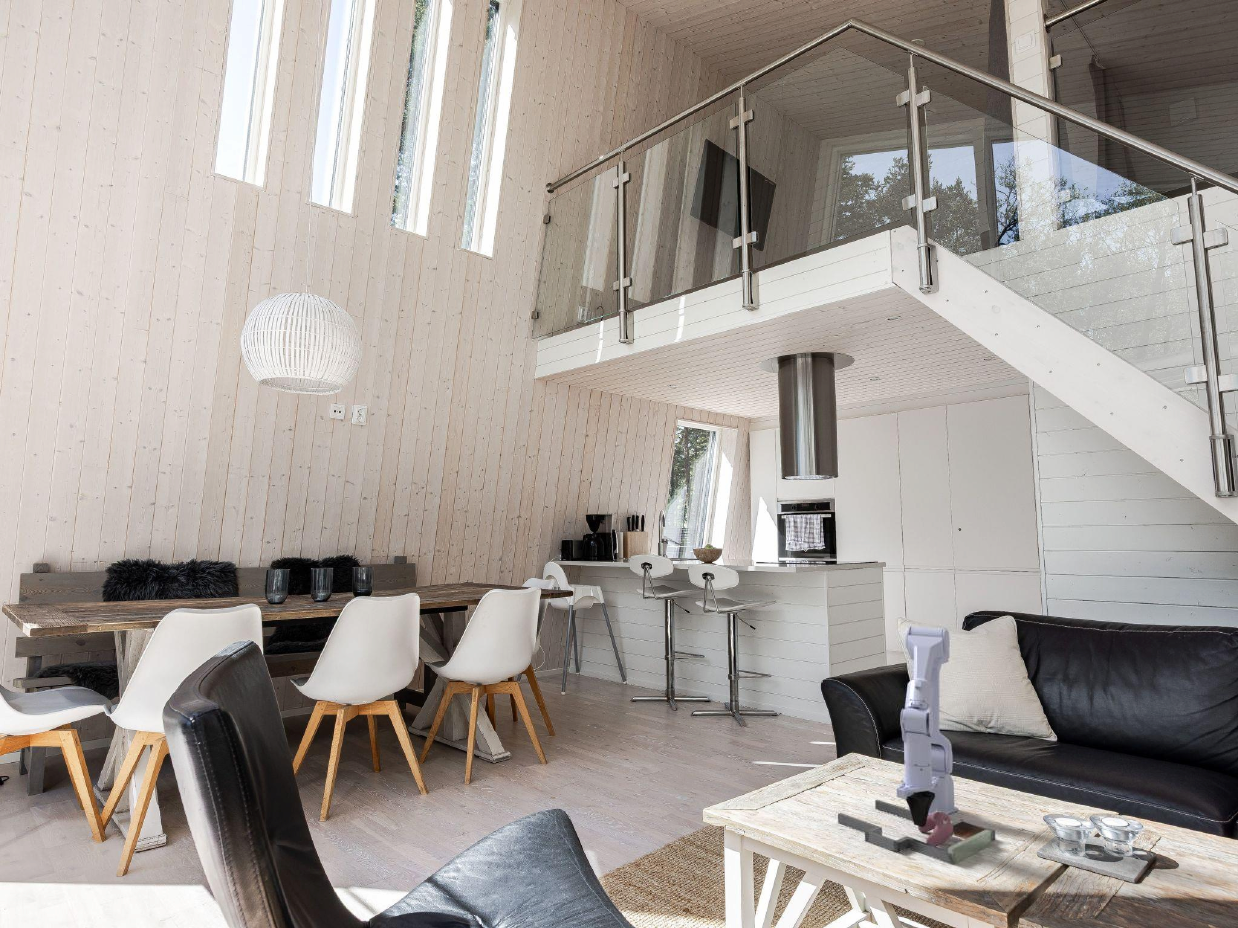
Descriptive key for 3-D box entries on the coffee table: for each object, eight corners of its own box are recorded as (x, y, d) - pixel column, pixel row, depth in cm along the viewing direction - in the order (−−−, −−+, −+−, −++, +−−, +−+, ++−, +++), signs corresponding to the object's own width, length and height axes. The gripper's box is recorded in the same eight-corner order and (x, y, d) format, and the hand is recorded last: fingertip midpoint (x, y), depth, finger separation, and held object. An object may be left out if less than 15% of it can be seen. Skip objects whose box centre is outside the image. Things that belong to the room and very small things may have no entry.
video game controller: (945, 856, 163) (960, 827, 163) (925, 845, 164) (939, 816, 164) (934, 838, 173) (948, 810, 173) (915, 827, 174) (929, 800, 174)
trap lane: (887, 804, 190) (886, 791, 190) (999, 840, 168) (999, 826, 168) (827, 826, 175) (827, 813, 176) (942, 869, 153) (942, 853, 154)
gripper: (919, 752, 179) (920, 812, 178) (883, 763, 170) (885, 826, 169) (947, 760, 174) (949, 821, 172) (912, 771, 165) (914, 837, 164)
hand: (919, 825), depth 170 cm, fingers closed
